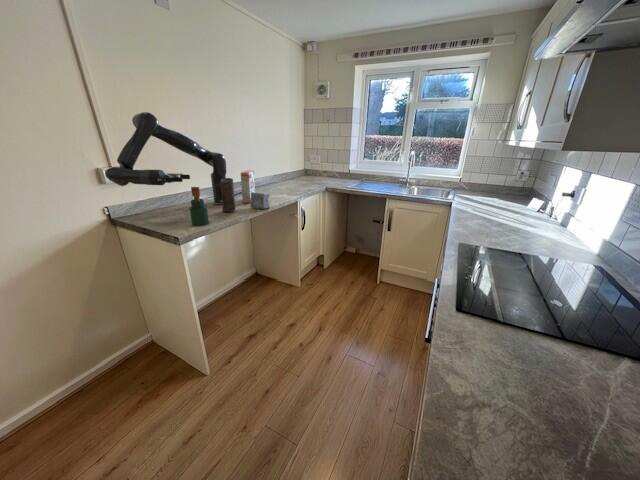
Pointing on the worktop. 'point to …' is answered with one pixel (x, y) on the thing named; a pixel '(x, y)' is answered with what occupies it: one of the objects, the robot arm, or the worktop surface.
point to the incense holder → (259, 200)
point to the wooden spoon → (195, 193)
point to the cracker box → (247, 185)
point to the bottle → (199, 213)
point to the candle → (227, 194)
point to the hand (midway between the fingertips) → (186, 178)
